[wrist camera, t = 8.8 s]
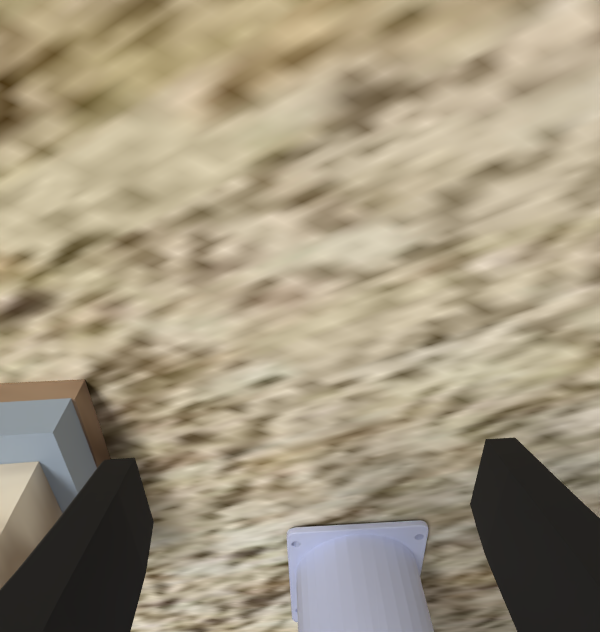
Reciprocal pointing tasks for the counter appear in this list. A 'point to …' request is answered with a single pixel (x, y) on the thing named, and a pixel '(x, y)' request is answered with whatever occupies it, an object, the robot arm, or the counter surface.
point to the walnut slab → (61, 391)
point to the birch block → (23, 513)
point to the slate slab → (48, 443)
